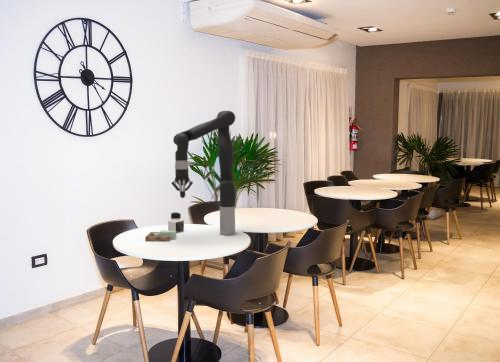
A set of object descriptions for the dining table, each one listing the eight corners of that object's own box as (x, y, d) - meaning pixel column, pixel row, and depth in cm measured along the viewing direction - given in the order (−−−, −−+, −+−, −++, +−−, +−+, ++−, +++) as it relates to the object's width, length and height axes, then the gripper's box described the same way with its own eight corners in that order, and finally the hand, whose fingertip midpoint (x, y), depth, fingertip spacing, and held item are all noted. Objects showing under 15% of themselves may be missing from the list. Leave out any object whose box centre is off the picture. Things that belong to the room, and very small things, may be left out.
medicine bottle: (175, 233, 294) (175, 214, 292) (168, 231, 298) (167, 212, 297) (184, 231, 299) (183, 212, 298) (176, 229, 304) (175, 211, 302)
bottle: (175, 230, 281) (153, 230, 281) (174, 232, 276) (151, 232, 276) (176, 238, 281) (153, 237, 282) (174, 239, 276) (151, 239, 277)
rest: (173, 236, 285) (173, 232, 285) (169, 241, 272) (169, 237, 272) (150, 236, 286) (150, 232, 285) (145, 241, 273) (145, 237, 272)
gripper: (194, 167, 277) (194, 196, 279) (171, 167, 278) (172, 196, 280) (192, 168, 270) (193, 198, 272) (169, 168, 270) (170, 198, 272)
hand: (182, 197), depth 276 cm, fingers closed
